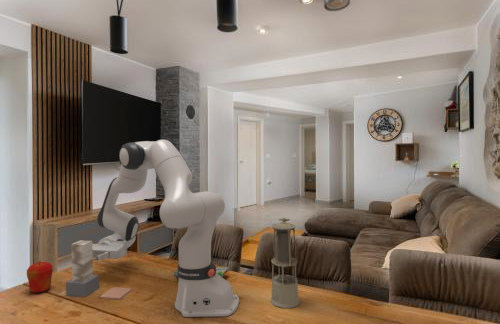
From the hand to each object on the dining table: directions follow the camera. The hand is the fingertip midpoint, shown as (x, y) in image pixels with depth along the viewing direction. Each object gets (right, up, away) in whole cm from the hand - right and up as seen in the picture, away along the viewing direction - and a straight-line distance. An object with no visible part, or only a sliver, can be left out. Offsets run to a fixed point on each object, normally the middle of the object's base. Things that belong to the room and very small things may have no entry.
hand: (86, 257), depth 123 cm
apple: (-18, -13, -1) cm, 22 cm away
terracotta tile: (+13, -12, -4) cm, 19 cm away
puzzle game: (+43, -12, +10) cm, 46 cm away
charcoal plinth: (0, -12, -2) cm, 13 cm away
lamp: (+76, -12, -9) cm, 78 cm away
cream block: (0, -7, -2) cm, 8 cm away
